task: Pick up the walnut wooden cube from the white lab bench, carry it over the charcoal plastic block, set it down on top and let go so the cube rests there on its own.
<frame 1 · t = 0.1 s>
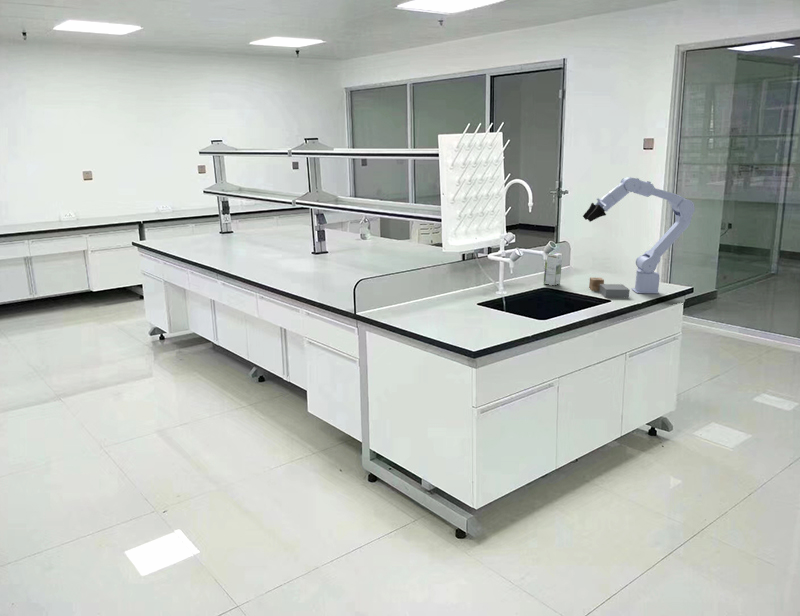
hand: (586, 219, 278), 32 cm above the table, tool tilted 50°, fingers open, 7 cm apart
syrup box: (551, 284, 298), on the table
charcoal base block: (613, 295, 280), on the table
walnut cube: (596, 289, 289), on the table
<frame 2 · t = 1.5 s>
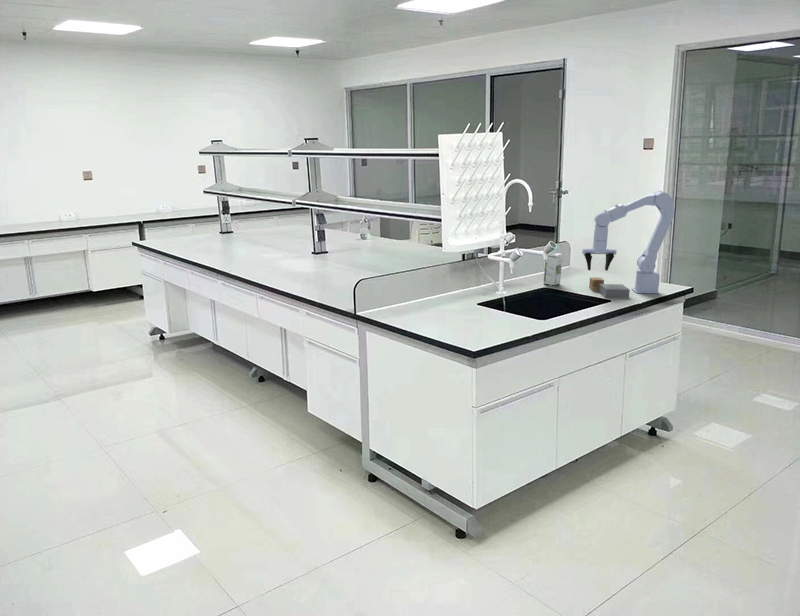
hand: (597, 270, 287), 9 cm above the table, tool pointing down, fingers open, 7 cm apart
nothing on the table moved.
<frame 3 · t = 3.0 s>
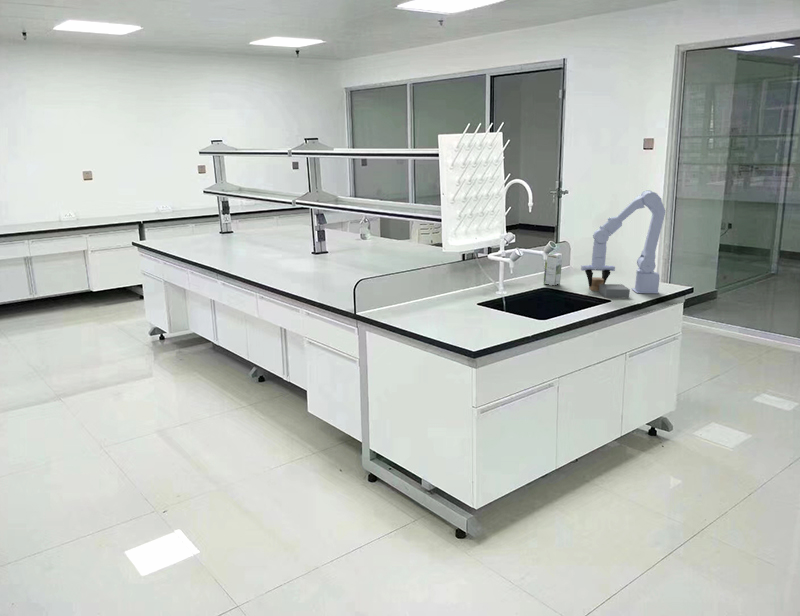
hand: (596, 286, 289), 1 cm above the table, tool pointing down, fingers closed on walnut cube, 5 cm apart
walnut cube: (596, 289, 289), on the table, touching gripper
everything else where it was.
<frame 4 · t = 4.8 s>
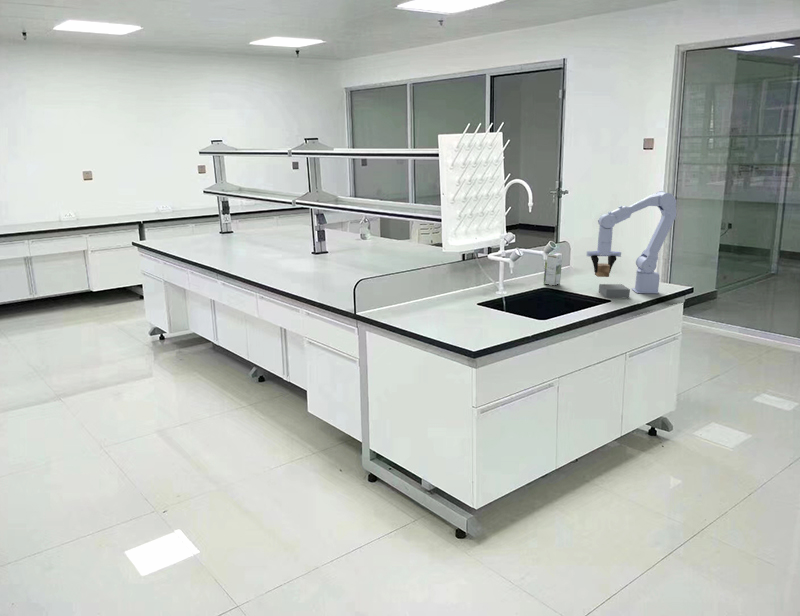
hand: (602, 272, 285), 8 cm above the table, tool pointing down, fingers closed on walnut cube, 5 cm apart
walnut cube: (601, 275, 285), point 7 cm above the table, touching gripper
everything else where it was.
when the fingers open (6 cm above the table, at t = 6.6 s): walnut cube drops 1 cm, resting on charcoal base block.
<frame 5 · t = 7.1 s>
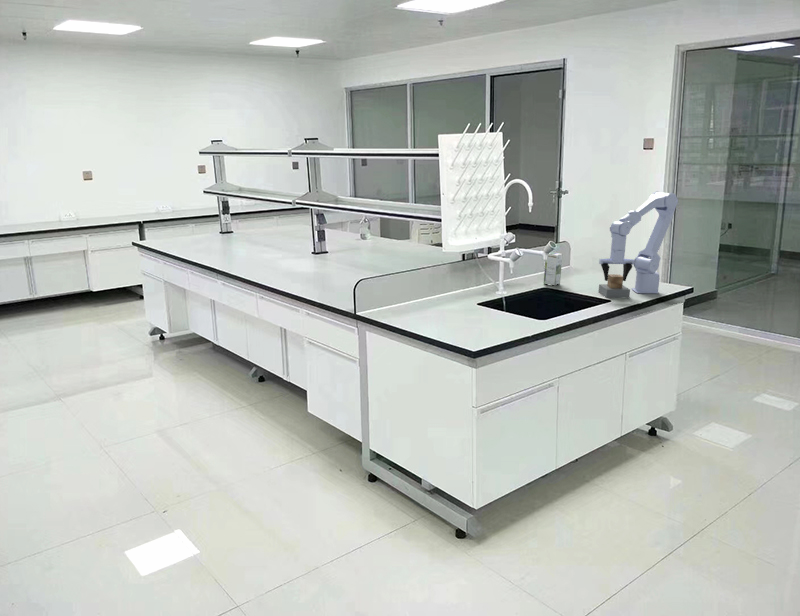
hand: (615, 280, 278), 6 cm above the table, tool pointing down, fingers open, 7 cm apart
charcoal base block: (613, 295, 280), on the table, touching walnut cube
walnut cube: (614, 286, 279), point 4 cm above the table, touching charcoal base block
everything else where it was.
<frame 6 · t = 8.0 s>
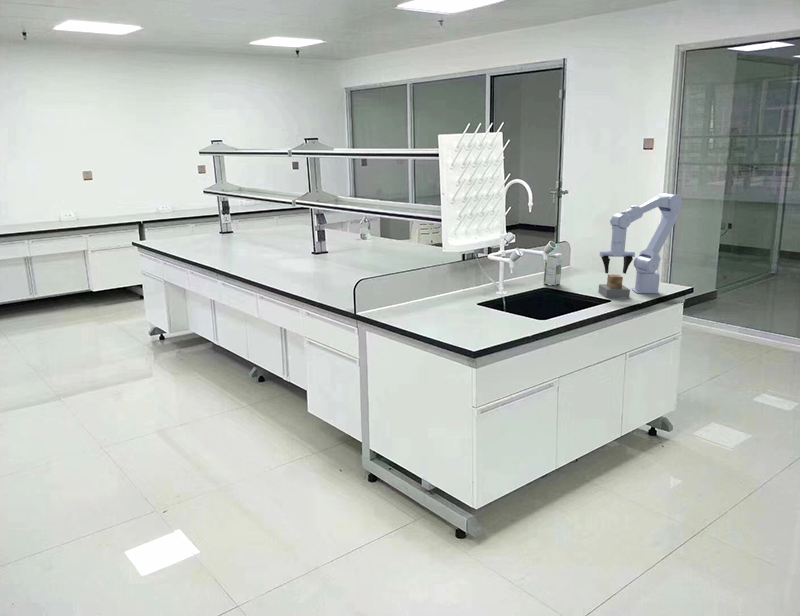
hand: (615, 273, 278), 9 cm above the table, tool pointing down, fingers open, 7 cm apart
nothing on the table moved.
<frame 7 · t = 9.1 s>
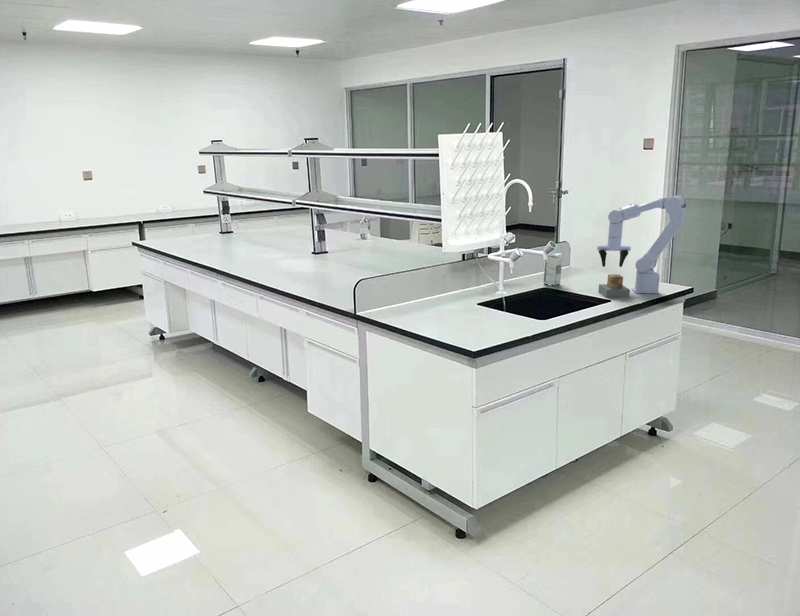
hand: (612, 266, 292), 9 cm above the table, tool pointing down, fingers open, 7 cm apart
charcoal base block: (613, 295, 280), on the table
walnut cube: (614, 286, 278), point 4 cm above the table
everything else where it was.
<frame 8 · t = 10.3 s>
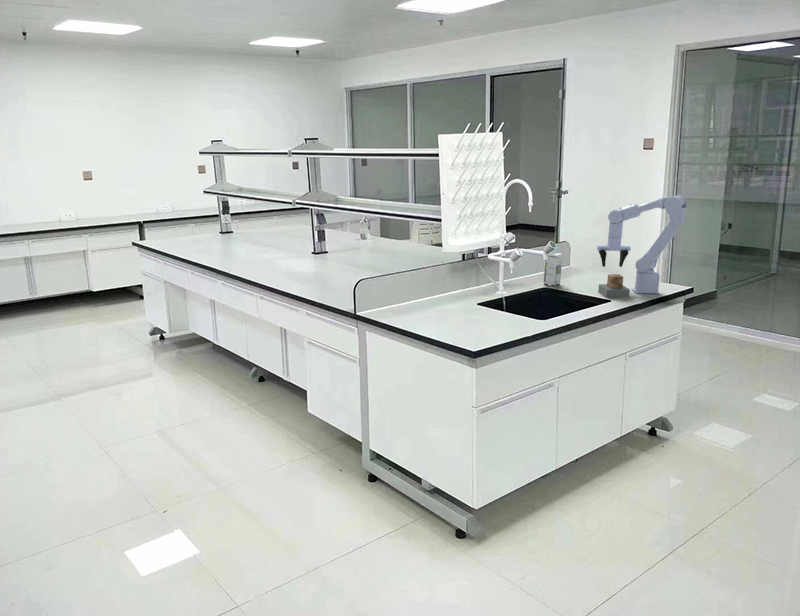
hand: (612, 266, 292), 9 cm above the table, tool pointing down, fingers open, 7 cm apart
charcoal base block: (613, 295, 280), on the table, touching walnut cube
walnut cube: (614, 286, 279), point 4 cm above the table, touching charcoal base block
everything else where it was.
at the end: walnut cube 0.2 cm from the charcoal base block (horizontally); walnut cube point 3.6 cm above the table; walnut cube tilted 0° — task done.
